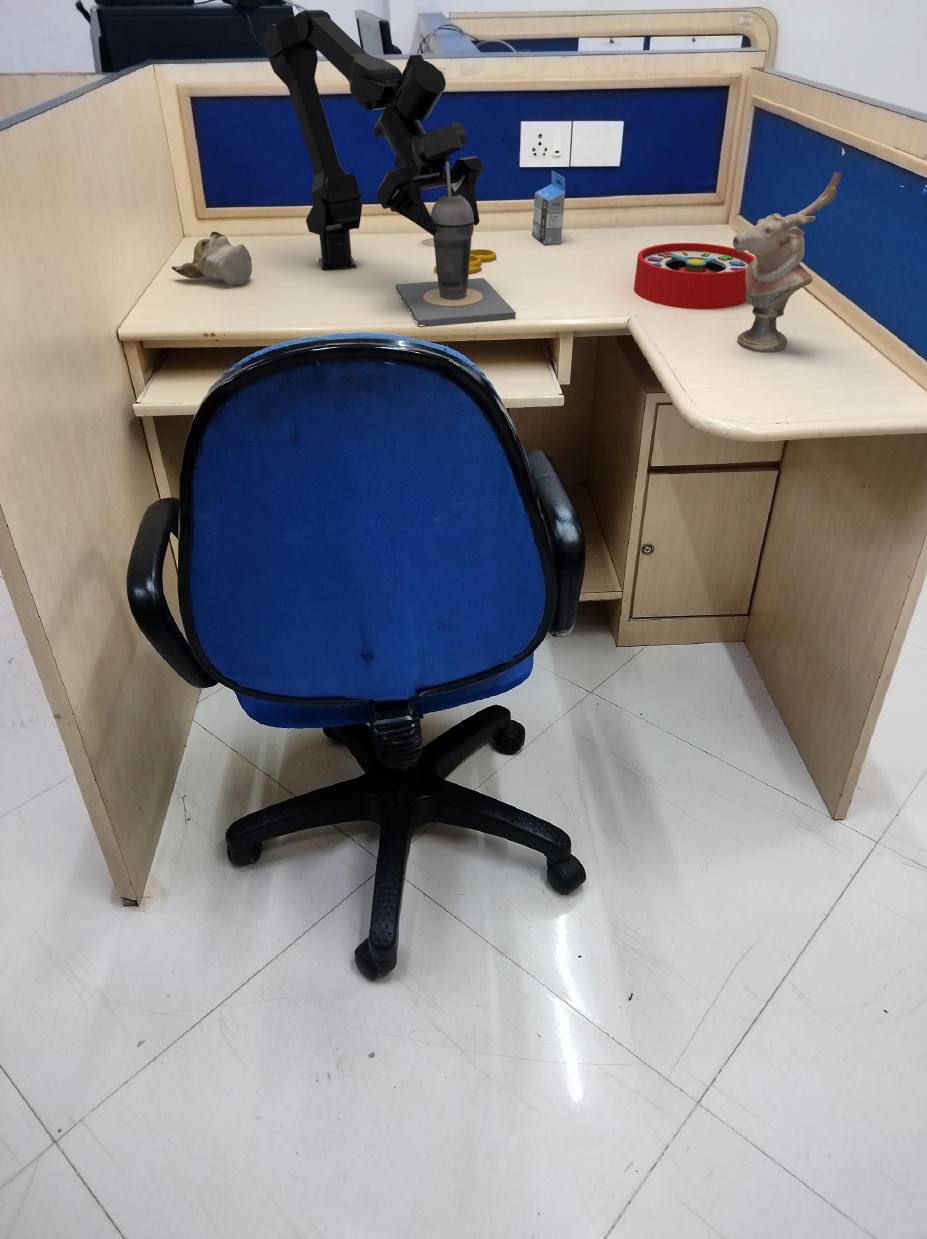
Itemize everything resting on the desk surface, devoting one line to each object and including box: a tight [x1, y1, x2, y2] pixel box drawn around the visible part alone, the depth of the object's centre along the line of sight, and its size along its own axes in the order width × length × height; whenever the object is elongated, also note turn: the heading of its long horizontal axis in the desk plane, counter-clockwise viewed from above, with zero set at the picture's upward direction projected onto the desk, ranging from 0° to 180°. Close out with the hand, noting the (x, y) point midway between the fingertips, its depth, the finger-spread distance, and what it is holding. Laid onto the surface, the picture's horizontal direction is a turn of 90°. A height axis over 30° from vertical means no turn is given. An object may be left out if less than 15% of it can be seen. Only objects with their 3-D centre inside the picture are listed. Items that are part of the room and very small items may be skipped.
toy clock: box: [633, 242, 755, 310], centre depth 146 cm, size 20×6×20 cm
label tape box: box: [531, 170, 566, 246], centre depth 173 cm, size 9×4×12 cm, turn 14°
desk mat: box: [395, 277, 517, 327], centre depth 142 cm, size 20×16×1 cm
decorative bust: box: [732, 171, 843, 353], centre depth 119 cm, size 11×12×24 cm
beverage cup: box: [430, 161, 475, 300], centre depth 136 cm, size 7×7×20 cm
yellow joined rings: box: [433, 248, 497, 275], centre depth 162 cm, size 17×2×10 cm
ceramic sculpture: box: [171, 231, 253, 287], centre depth 152 cm, size 11×9×15 cm
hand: (456, 228), depth 135 cm, fingers open, 9 cm apart
